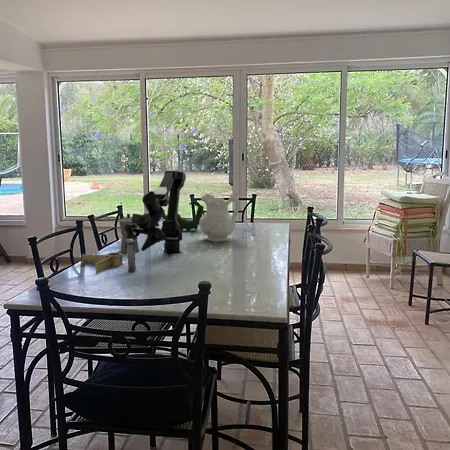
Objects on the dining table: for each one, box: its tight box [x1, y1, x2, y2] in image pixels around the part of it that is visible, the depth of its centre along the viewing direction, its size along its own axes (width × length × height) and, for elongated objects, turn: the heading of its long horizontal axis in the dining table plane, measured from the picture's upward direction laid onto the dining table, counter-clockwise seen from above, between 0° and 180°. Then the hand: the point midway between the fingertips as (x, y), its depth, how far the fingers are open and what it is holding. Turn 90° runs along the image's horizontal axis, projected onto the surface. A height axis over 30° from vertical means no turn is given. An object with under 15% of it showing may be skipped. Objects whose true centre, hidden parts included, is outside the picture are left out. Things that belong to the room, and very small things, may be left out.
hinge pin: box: [126, 239, 137, 273], centre depth 181 cm, size 4×4×13 cm
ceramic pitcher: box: [198, 193, 240, 243], centre depth 241 cm, size 22×20×25 cm
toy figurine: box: [161, 200, 205, 232], centre depth 267 cm, size 9×19×25 cm
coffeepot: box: [118, 213, 140, 254], centre depth 216 cm, size 15×9×18 cm, turn 33°
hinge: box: [81, 251, 124, 274], centre depth 190 cm, size 14×19×4 cm
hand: (133, 249), depth 181 cm, fingers open, 9 cm apart
